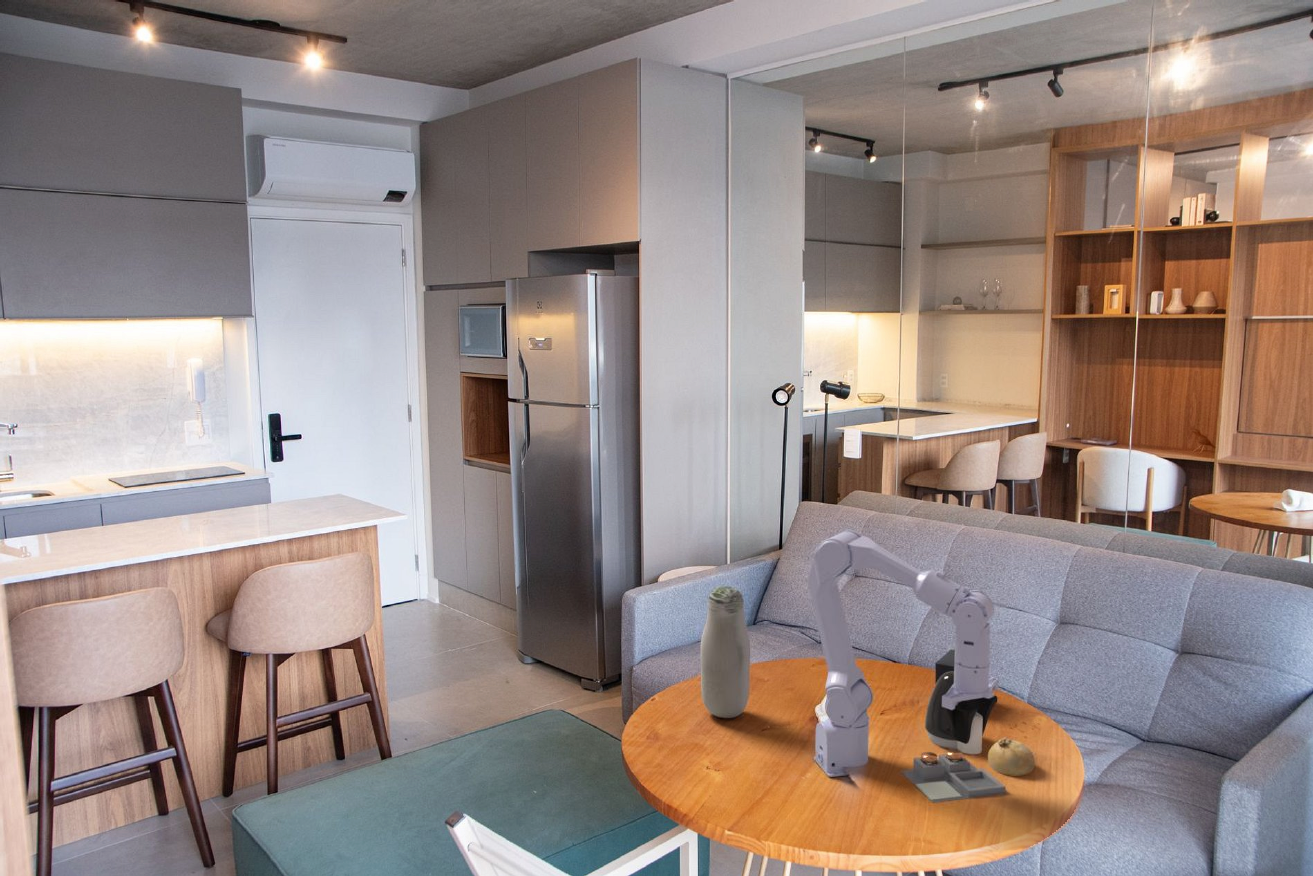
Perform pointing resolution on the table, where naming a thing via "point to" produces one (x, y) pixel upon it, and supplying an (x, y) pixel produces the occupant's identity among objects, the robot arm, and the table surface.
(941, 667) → the small box
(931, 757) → the plunger
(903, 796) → the table surface
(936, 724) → the pump dispenser
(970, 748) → the disc
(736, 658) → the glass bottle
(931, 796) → the housing
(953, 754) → the plunger
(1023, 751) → the onion
